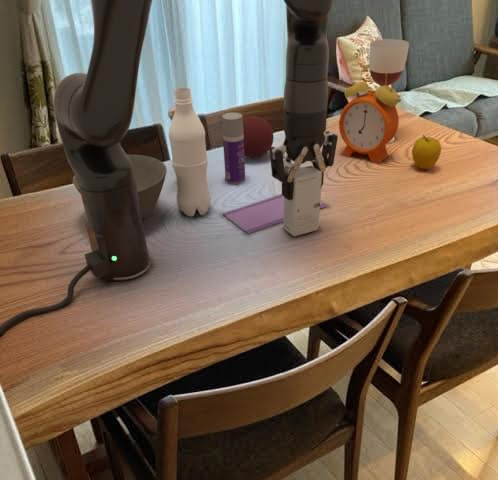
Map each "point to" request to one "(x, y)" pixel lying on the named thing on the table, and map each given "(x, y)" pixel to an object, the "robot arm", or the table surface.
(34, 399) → the table surface
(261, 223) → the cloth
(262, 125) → the decorative ball
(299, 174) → the cosmetic box
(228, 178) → the container
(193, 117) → the water bottle
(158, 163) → the bowl
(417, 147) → the apple
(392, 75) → the wineglass
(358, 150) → the alarm clock
